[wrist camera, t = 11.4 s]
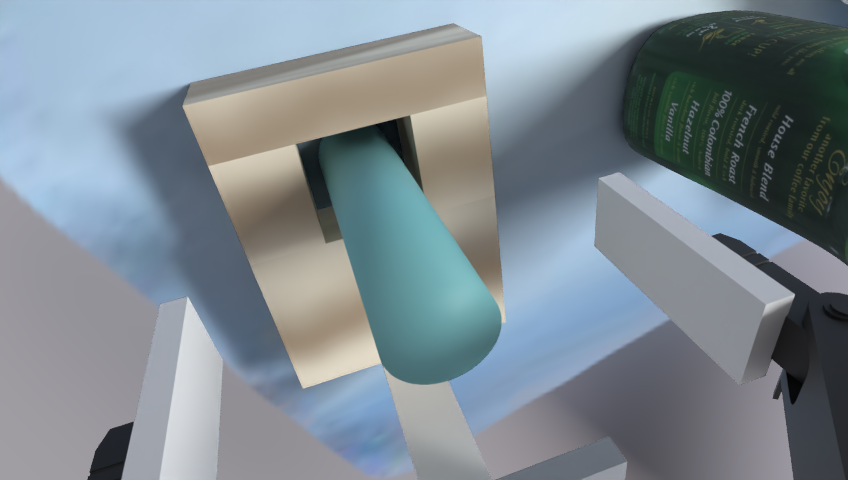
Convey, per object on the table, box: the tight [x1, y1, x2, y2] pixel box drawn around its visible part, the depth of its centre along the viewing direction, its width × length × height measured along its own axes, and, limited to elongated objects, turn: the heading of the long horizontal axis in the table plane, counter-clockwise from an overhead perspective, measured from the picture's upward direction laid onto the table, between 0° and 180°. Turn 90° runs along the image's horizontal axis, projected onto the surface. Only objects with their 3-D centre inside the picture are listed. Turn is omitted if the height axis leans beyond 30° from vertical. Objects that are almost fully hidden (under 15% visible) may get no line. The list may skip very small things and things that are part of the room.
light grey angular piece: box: [382, 365, 627, 480], centre depth 24 cm, size 7×10×16 cm
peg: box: [318, 124, 502, 385], centre depth 20 cm, size 4×4×14 cm
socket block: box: [182, 24, 506, 389], centre depth 26 cm, size 16×12×4 cm
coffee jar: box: [622, 11, 848, 266], centre depth 22 cm, size 10×8×19 cm
